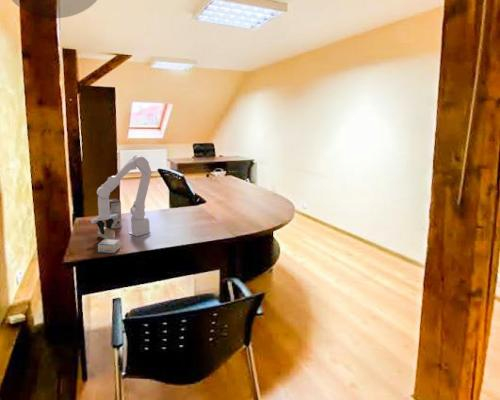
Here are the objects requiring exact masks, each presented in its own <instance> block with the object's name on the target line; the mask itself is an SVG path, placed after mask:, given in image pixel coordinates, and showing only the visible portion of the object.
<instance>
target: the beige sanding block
mask: <svg viewBox="0 0 500 400" xmlns="http://www.w3.org/2000/svg"><path fill="white" fill-rule="evenodd" d="M97 237H99V238H102V239H103V240H104V239H116V231H115V230H113V229H112V228H111V229H108V228H106V226H104V234H101V232H100V229H99V227H98V226H97Z"/></svg>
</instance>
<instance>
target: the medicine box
mask: <svg viewBox="0 0 500 400" xmlns="http://www.w3.org/2000/svg"><path fill="white" fill-rule="evenodd" d="M120 248H121V239H119V238H117V239H116V238H115V239H104V238H103V240H101V241H100V242H99V243H97V253H107V254H114V253H116V252H117V251H118V250H119V249H120Z"/></svg>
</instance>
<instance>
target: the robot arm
mask: <svg viewBox="0 0 500 400" xmlns="http://www.w3.org/2000/svg"><path fill="white" fill-rule="evenodd" d="M137 168H138V170H139V172H140V173H141V176H140V179H139V184H138V187H137V188H138V189H137V192H136V197H135V201H134V202H133V205H132V206H131V208H130V211H129V212H130V214H131V215H132V216H131V217H130V220H131V221H130V222H131V231H129V232H128V234H130V235H132V236H135V237H139V236H142V235H147V234H151V230H150V220H149V218H148V217H147V216H146V212H145V207H146V205H145V202H146V198H147V193H148V190H149V185H150V181H151V177H152V170H151V166H150V163H149V160H147V158H145V157H144V156H142V155H139V154H136V155H134V156H133V157H132V158H130V159H129V160H128V161H127V162H126V164H125V165H124V166H123V167H122V168H120V170H119V171H118V172H117V173H116V174H115V175H111V176H109V177H108V178H107V180H106V181H105V182H104V183H103V184H101V185H100V186H99V187H98V188H97V190H96V194H97V208H98V209H97V211H98V216H97V217H94V218H91V219H90V223H91V224H96V225H97V228H98V227H99V229H100V232H101V234H104V227H106V228H108V229H111V230H112V228H111V226H112V224H113V222H114V220H112V219H114V218H118V215H117V214H114V215H110V204H109V199H110V195H111V193H112V192H113V191H114V190H115V189H116V188H117V187H118V186H119V185H120V184H121V181H120V180H122V179H123V178H124V177H125V176H126V175H127V174H128V173H129V172H130V171H133V170H137ZM104 221H105V222H104Z"/></svg>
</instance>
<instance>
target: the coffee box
mask: <svg viewBox="0 0 500 400" xmlns="http://www.w3.org/2000/svg"><path fill="white" fill-rule="evenodd" d="M109 204H110V215H114V214H117V215H118V218H114V219H112V220H114V222H113V224H112V226H111V229H117V228H122V226H123V225H122V203H121V200H119V199H117V198H109Z"/></svg>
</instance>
